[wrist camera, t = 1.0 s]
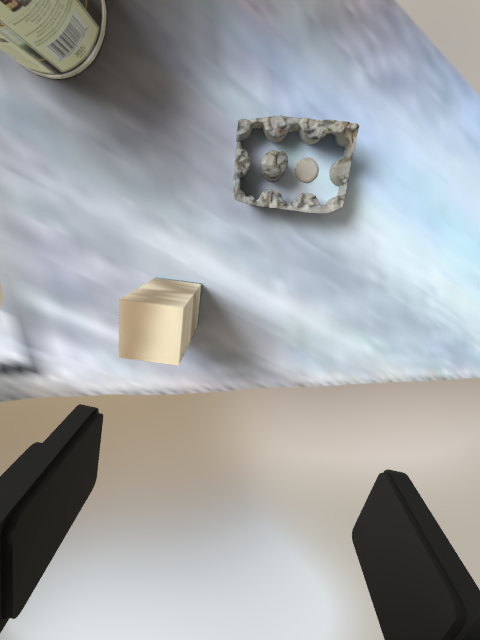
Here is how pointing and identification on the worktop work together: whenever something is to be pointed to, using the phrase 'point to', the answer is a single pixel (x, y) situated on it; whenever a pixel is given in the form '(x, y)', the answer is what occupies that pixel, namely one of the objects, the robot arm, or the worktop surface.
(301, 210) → the egg carton
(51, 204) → the worktop surface
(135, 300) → the maple block
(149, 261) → the worktop surface
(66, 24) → the coffee can
